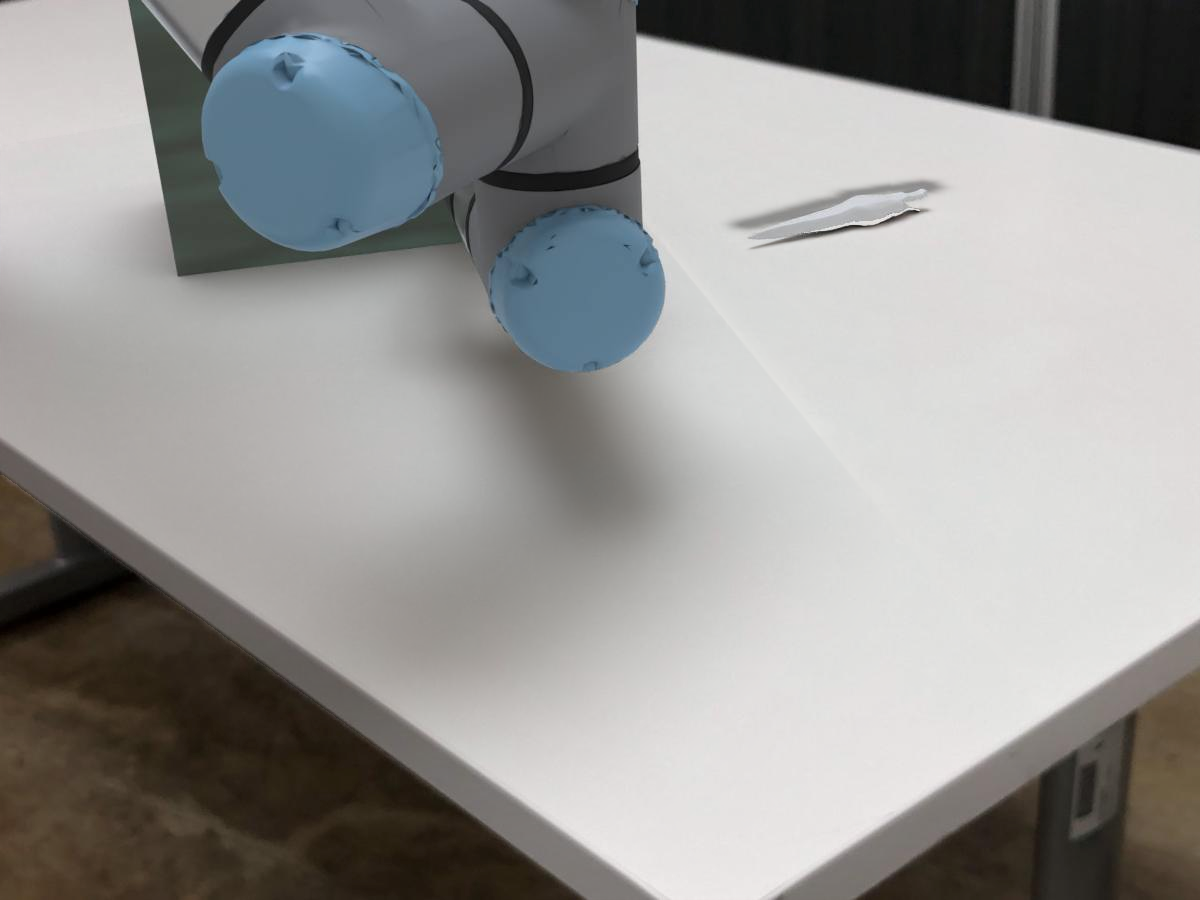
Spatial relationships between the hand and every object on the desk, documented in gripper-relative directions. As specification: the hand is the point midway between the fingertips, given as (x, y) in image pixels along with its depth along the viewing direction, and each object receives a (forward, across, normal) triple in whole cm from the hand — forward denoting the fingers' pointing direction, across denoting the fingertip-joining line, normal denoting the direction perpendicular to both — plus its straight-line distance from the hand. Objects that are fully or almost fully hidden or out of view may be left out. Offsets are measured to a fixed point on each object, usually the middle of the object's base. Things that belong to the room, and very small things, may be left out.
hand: (457, 91), depth 101 cm
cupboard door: (-2, -8, -12) cm, 15 cm away
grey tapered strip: (-1, +26, -12) cm, 29 cm away
